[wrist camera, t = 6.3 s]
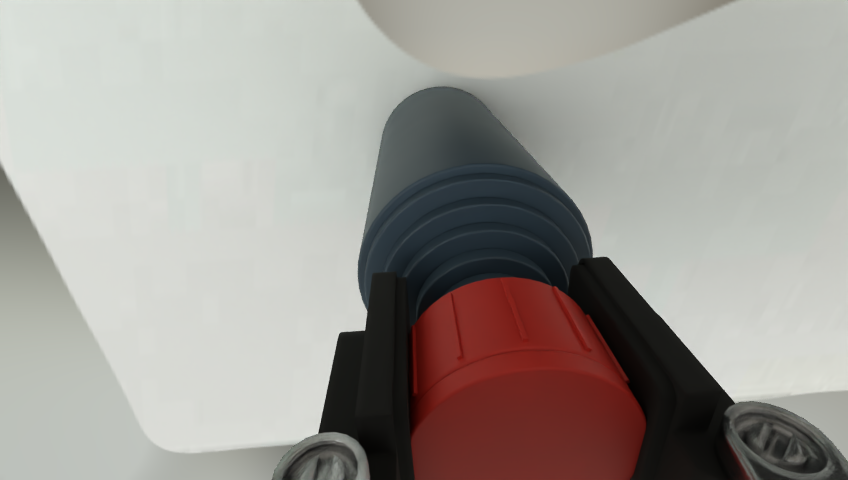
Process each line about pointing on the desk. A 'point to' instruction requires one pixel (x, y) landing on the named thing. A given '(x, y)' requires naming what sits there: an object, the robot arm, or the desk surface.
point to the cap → (518, 389)
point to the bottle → (463, 204)
